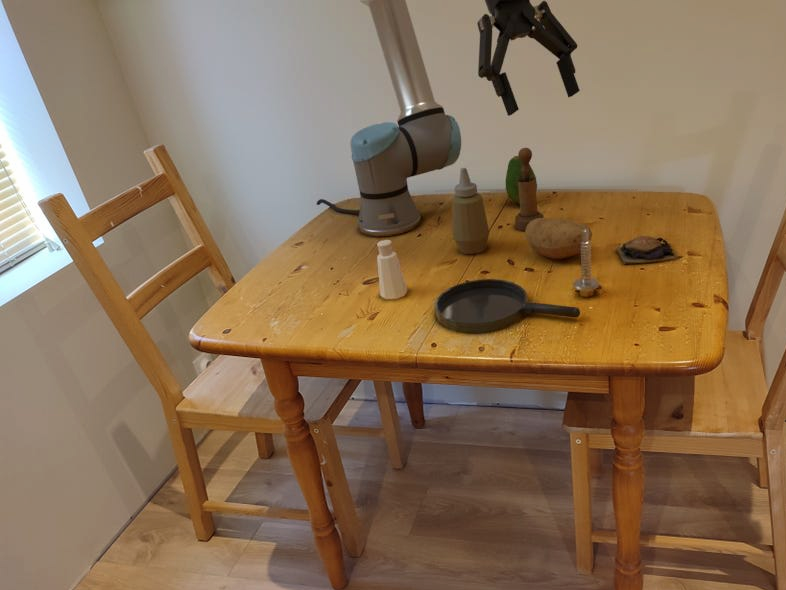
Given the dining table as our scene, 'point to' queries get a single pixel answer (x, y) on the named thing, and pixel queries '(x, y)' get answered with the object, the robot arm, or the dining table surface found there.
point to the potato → (555, 237)
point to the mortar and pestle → (526, 193)
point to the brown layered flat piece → (645, 250)
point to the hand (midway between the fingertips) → (544, 103)
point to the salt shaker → (390, 272)
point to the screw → (586, 269)
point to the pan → (481, 305)
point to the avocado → (515, 178)
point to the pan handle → (550, 309)
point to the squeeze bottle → (469, 217)
